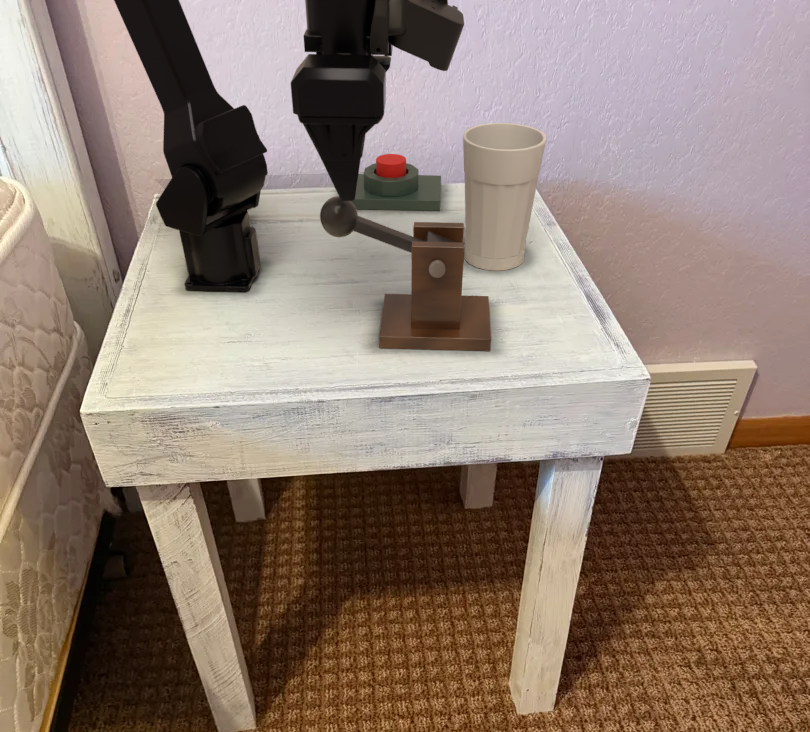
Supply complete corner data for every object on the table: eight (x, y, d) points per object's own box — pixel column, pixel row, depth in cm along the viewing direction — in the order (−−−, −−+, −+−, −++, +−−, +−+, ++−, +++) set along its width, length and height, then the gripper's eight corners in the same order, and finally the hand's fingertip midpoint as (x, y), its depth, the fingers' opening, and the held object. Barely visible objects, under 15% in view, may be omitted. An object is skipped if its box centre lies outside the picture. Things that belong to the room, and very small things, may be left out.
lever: (313, 235, 64) (323, 199, 62) (318, 220, 66) (328, 184, 64) (445, 284, 67) (459, 251, 64) (445, 268, 69) (459, 235, 67)
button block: (339, 208, 91) (337, 182, 89) (346, 183, 96) (344, 158, 94) (439, 210, 90) (440, 184, 88) (440, 185, 96) (441, 160, 94)
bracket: (379, 348, 69) (376, 253, 62) (385, 304, 74) (383, 213, 68) (490, 351, 68) (498, 256, 62) (487, 307, 74) (495, 216, 68)
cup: (528, 277, 78) (543, 153, 70) (451, 270, 79) (457, 147, 71) (534, 244, 84) (549, 125, 75) (462, 238, 85) (469, 120, 76)
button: (375, 179, 90) (374, 164, 89) (377, 168, 93) (377, 153, 91) (405, 180, 90) (405, 164, 89) (406, 169, 93) (406, 153, 91)
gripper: (465, -34, 45) (451, 227, 56) (457, -78, 58) (447, 141, 69) (278, -37, 45) (301, 224, 56) (312, -81, 58) (325, 138, 69)
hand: (352, 177), depth 63 cm, fingers open, 9 cm apart
